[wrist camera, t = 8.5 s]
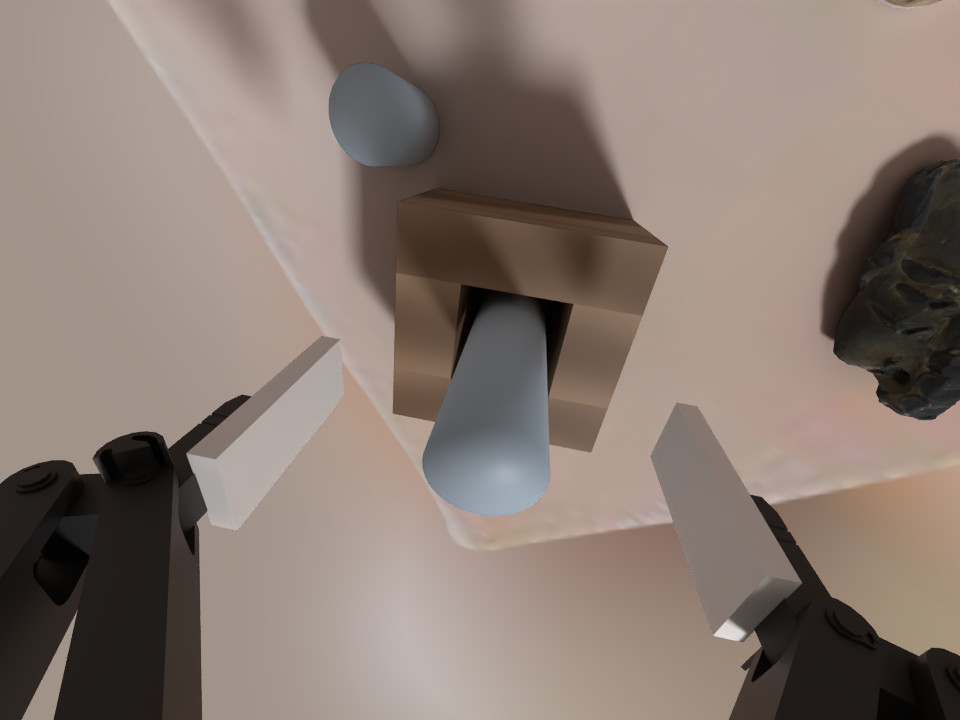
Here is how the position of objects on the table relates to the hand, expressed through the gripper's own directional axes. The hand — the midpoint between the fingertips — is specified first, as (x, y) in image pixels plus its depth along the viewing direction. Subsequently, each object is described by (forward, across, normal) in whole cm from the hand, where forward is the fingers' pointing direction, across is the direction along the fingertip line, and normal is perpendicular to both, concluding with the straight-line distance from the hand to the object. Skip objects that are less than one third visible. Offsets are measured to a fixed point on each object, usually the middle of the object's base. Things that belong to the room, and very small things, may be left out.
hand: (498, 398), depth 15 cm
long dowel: (+12, 0, 0) cm, 12 cm away
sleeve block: (+12, 0, 0) cm, 12 cm away
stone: (+13, +22, +4) cm, 26 cm away
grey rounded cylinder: (+12, -8, +9) cm, 17 cm away
